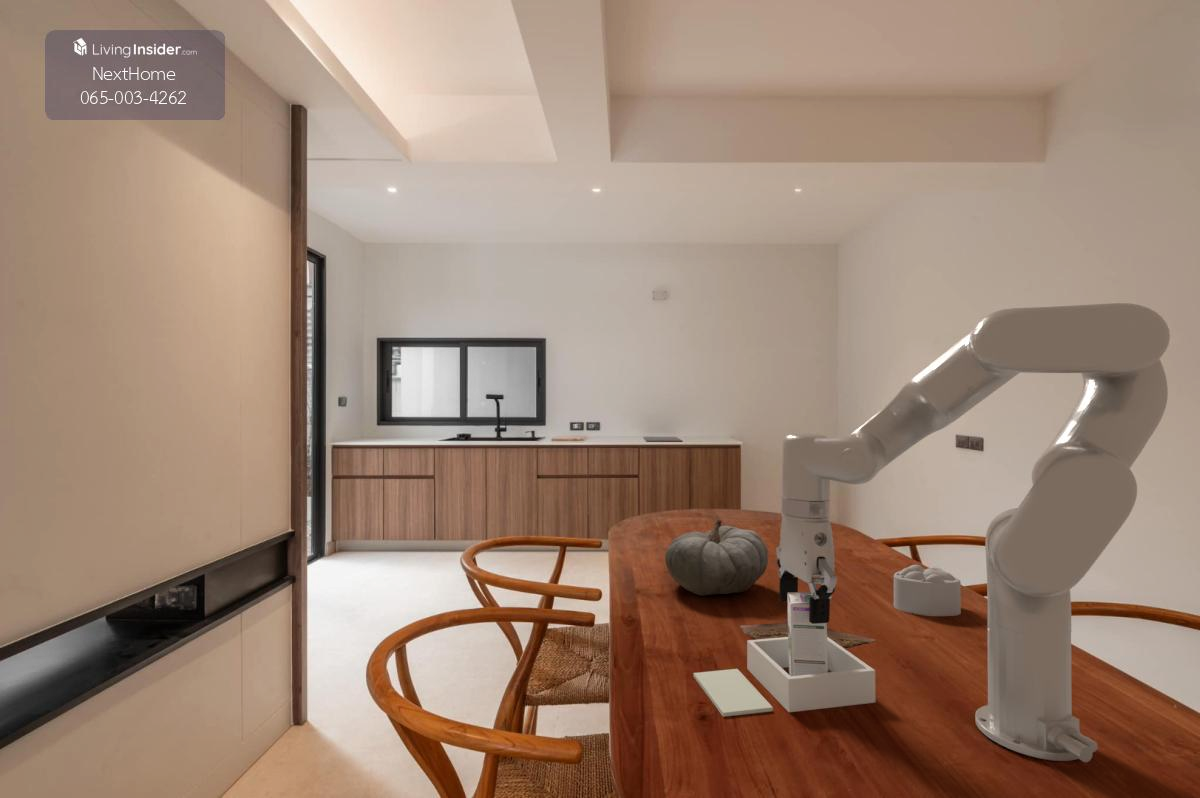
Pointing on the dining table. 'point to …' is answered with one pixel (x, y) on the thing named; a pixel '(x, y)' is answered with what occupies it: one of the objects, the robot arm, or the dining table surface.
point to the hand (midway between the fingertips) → (803, 611)
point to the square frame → (811, 677)
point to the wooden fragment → (782, 631)
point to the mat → (732, 692)
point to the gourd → (717, 560)
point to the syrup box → (805, 638)
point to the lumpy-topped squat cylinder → (927, 592)
